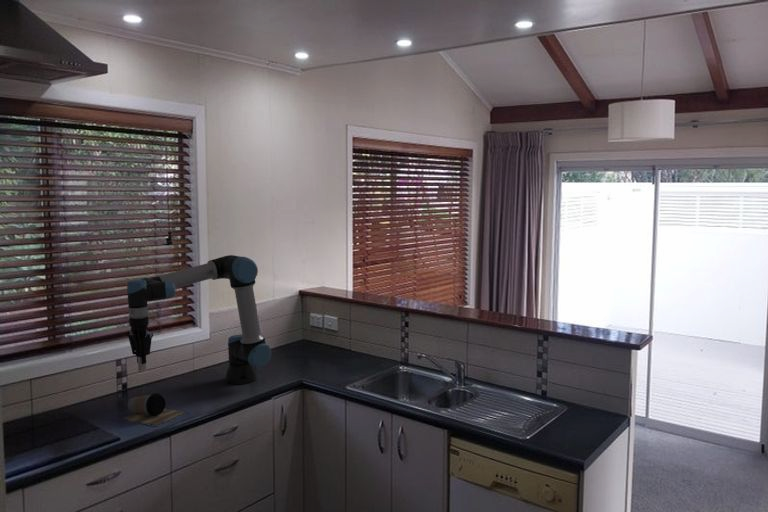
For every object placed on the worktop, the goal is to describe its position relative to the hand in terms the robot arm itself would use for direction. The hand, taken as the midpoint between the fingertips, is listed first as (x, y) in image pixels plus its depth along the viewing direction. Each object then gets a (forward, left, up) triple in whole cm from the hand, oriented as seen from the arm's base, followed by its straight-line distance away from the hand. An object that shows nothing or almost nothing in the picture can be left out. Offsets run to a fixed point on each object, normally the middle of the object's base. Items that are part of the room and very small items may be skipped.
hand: (142, 370), depth 267 cm
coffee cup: (+6, +1, -16) cm, 17 cm away
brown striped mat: (-6, 0, -19) cm, 20 cm away
